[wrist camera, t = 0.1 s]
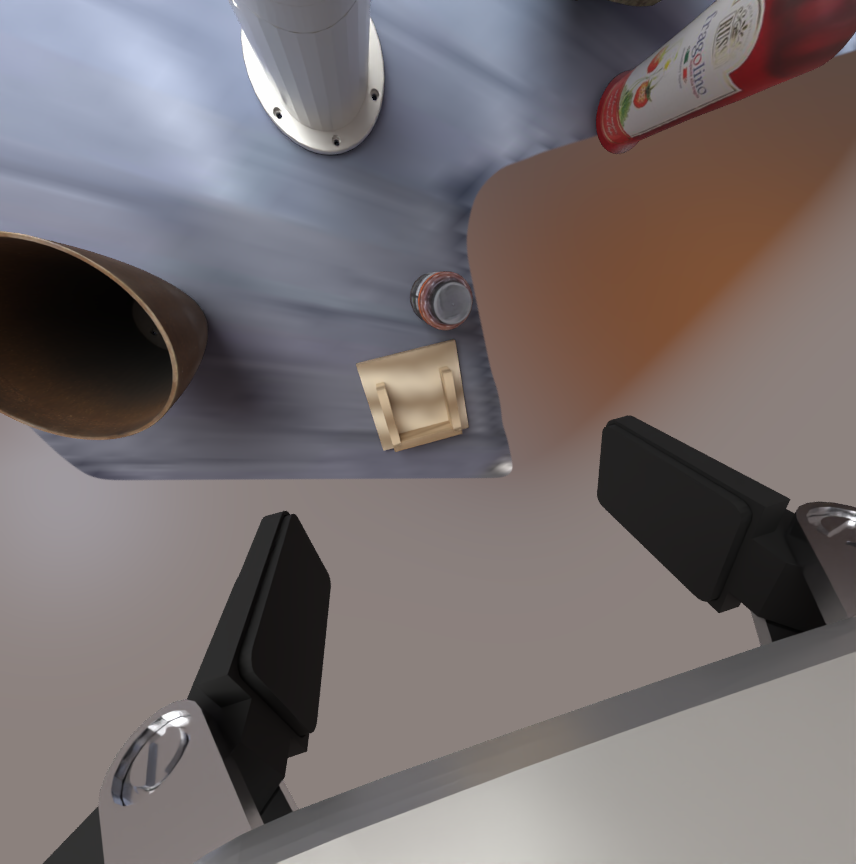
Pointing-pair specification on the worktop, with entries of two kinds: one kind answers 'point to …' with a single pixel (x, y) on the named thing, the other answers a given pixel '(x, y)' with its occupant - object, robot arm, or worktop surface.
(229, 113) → the worktop surface
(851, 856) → the robot arm
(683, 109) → the liquor
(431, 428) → the cradle
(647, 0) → the tabletop clock
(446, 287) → the supplement bottle
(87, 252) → the plant pot
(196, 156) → the worktop surface
